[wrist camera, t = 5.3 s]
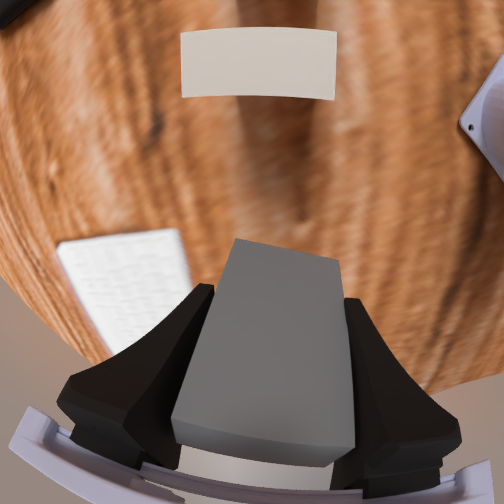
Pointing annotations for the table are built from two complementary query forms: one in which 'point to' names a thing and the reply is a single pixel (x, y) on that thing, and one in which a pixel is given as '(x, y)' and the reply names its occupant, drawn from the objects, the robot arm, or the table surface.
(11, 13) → the carrying case or bag
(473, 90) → the table surface
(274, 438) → the domino
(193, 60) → the domino
